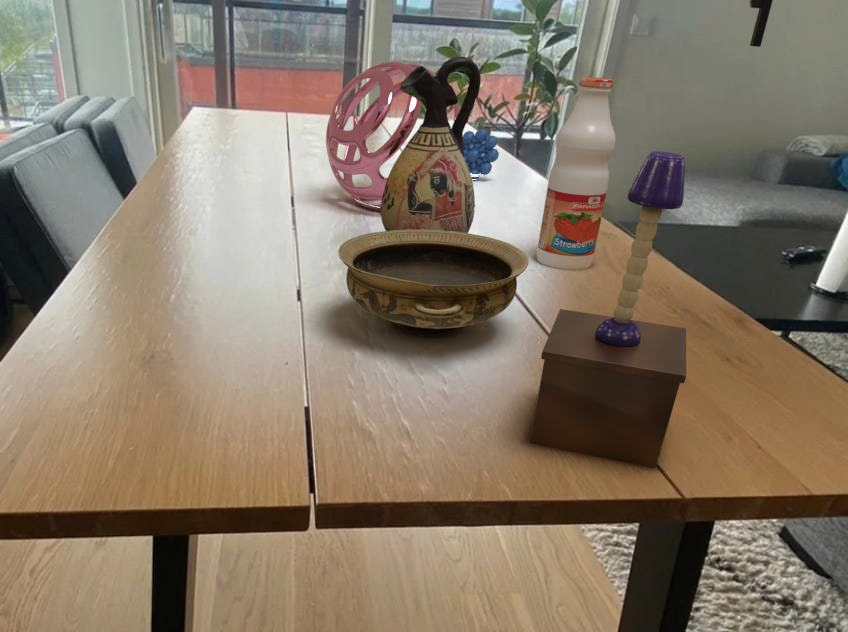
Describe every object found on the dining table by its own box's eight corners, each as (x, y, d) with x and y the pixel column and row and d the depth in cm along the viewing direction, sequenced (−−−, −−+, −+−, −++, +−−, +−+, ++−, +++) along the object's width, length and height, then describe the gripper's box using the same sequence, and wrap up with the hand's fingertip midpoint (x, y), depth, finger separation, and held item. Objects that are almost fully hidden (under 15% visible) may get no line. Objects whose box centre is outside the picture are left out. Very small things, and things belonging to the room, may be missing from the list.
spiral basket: (440, 94, 168) (364, 9, 147) (516, 148, 152) (444, 61, 131) (360, 199, 176) (278, 134, 155) (424, 261, 160) (343, 197, 139)
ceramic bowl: (340, 287, 114) (341, 218, 109) (499, 294, 115) (509, 226, 109) (331, 370, 89) (333, 285, 83) (537, 378, 89) (551, 295, 84)
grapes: (498, 180, 189) (505, 128, 183) (493, 185, 184) (500, 131, 177) (452, 175, 192) (457, 123, 186) (446, 180, 187) (451, 126, 180)
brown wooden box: (661, 416, 82) (686, 328, 77) (658, 472, 72) (686, 375, 67) (544, 394, 86) (560, 308, 80) (525, 445, 75) (542, 351, 70)
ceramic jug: (390, 270, 123) (403, 57, 107) (370, 243, 135) (379, 49, 119) (490, 268, 126) (517, 61, 110) (461, 242, 139) (482, 53, 123)
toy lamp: (632, 330, 76) (676, 149, 67) (655, 348, 72) (705, 159, 63) (587, 331, 75) (626, 148, 66) (608, 349, 71) (652, 157, 62)
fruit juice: (572, 253, 136) (605, 76, 121) (602, 269, 128) (642, 82, 113) (525, 256, 133) (553, 74, 118) (554, 272, 125) (588, 81, 111)
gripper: (1056, -221, 68) (952, 54, 79) (753, -212, 73) (695, 42, 85) (1097, -244, 61) (977, 57, 73) (763, -233, 67) (699, 44, 78)
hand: (825, 50), depth 79 cm, fingers open, 13 cm apart
